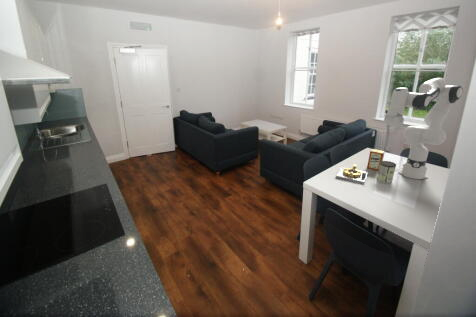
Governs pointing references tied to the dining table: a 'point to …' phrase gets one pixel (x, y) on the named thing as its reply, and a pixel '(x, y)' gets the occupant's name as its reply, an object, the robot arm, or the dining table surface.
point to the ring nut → (357, 174)
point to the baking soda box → (375, 159)
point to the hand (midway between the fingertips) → (390, 132)
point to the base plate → (353, 179)
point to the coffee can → (386, 171)
